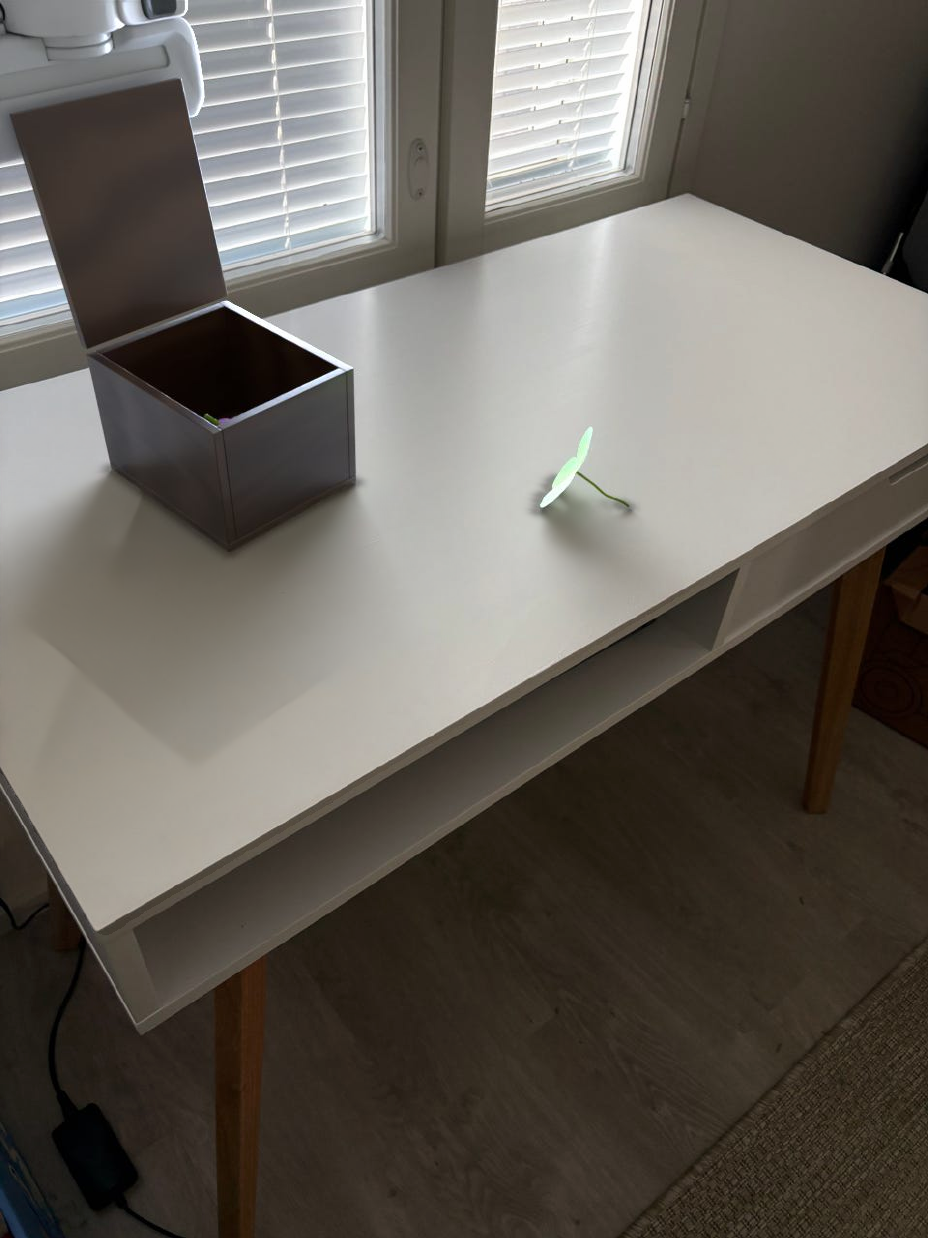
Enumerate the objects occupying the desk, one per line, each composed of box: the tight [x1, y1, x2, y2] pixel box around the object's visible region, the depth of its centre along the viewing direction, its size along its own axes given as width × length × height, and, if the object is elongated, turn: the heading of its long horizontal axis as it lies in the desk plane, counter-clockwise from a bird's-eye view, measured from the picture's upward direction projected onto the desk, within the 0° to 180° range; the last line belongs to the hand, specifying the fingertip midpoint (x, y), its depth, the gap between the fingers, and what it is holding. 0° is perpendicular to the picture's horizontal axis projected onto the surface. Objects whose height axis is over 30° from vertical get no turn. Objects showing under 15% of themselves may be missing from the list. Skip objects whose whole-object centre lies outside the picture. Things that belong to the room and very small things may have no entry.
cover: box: [9, 78, 229, 350], centre depth 77 cm, size 16×14×1 cm
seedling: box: [539, 426, 630, 508], centre depth 85 cm, size 7×8×7 cm
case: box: [85, 300, 357, 554], centre depth 82 cm, size 16×14×11 cm
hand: (95, 198), depth 79 cm, fingers closed
